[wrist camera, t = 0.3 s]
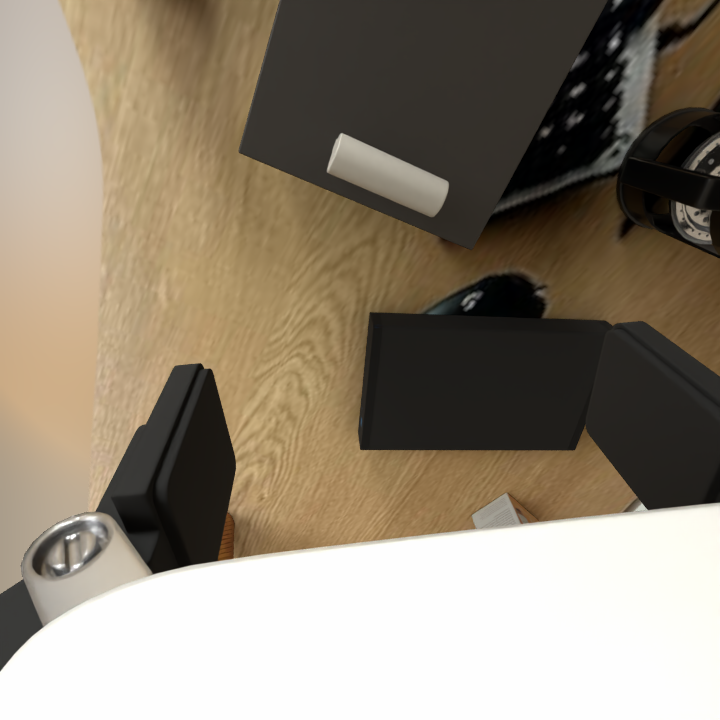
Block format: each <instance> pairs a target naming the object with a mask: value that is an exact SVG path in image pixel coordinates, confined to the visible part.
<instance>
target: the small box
mask: <svg viewBox="0 0 720 720" xmlns="http://www.w3.org/2000/svg"><path fill="white" fill-rule="evenodd" d="M472 518H473V521H474V524H475V527H476V529H481V528H490V527H499V526H507V525H516V524H525V523H534V522H540V521H539V520H538V519H536V518H535V517H534V516H533V515H531V514H530V513H529V512H528V511H527V510H526V509H525V508H524V507H523V506H521V505H520V504H519V503H518V502H517V501H516V500H515V499H514V498H513V497H511V496H510V495H509V494H508V493H505V494H503V495H502V496H500V497H499V498H497V499H496V500H494V501H493V502H491V503H490V504H488V505H486V506H485V507H483V508H482V509H480V510H479V511H477V512H475V513H474V514H473V515H472Z"/></svg>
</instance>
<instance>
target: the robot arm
mask: <svg viewBox="0 0 720 720" xmlns="http://www.w3.org/2000/svg"><path fill="white" fill-rule="evenodd" d="M585 424H586V429H587V432H588V434H589V435H590V437H591V438H592V439H593V440H594V442H595V443H596V444H597V446H598V447H599V448H600V449H601V451H602V452H603V453H604V455H605V456H606V457H607V458H608V460H609V461H610V462H611V464H612V465H613V466H614V467H615V469H616V470H617V471H618V473H619V474H620V475H621V476H622V478H623V479H624V480H625V482H626V483H627V484H628V485H629V487H630V488H631V489H632V491H633V492H634V493H635V494H636V496H637V497H638V498H639V500H640V501H641V502H642V503H643V505H644V506H645V507H646V508H647V509H648V510H644V511H635V512H626V513H616V514H607V515H598V516H588V517H579V518H570V519H561V520H552V521H543V522H534V523H525V524H516V525H507V526H499V527H490V528H481V529H472V530H463V531H455V532H446V533H437V534H428V535H420V536H412V537H403V538H395V539H386V540H378V541H369V542H361V543H352V544H344V545H335V546H327V547H319V548H310V549H302V550H294V551H286V552H278V553H270V554H262V555H255V556H248V557H242V558H235V559H229V560H222V561H218V556H219V551H220V546H221V541H222V536H223V531H224V526H225V521H226V516H227V511H228V506H229V501H230V496H231V491H232V486H233V481H234V476H235V471H236V461H235V455H234V451H233V447H232V443H231V439H230V436H229V432H228V428H227V424H226V420H225V417H224V413H223V409H222V405H221V401H220V398H219V394H218V390H217V386H216V382H215V378H214V375H213V372H212V370H211V369H204V367H203V365H202V364H201V363H199V364H188V365H178V366H175V367H174V368H173V370H172V372H171V374H170V376H169V378H168V380H167V382H166V384H165V387H164V389H163V391H162V393H161V395H160V397H159V399H158V401H157V403H156V405H155V407H154V409H153V411H152V413H151V415H150V417H149V419H148V421H147V423H146V425H142V426H140V427H139V428H138V429H137V431H136V432H135V434H134V436H133V438H132V440H131V442H130V444H129V446H128V448H127V450H126V452H125V454H124V456H123V458H122V460H121V462H120V464H119V466H118V468H117V470H116V472H115V474H114V476H113V478H112V480H111V482H110V484H109V486H108V488H107V490H106V492H105V494H104V496H103V498H102V500H101V502H100V504H99V506H98V508H97V510H96V512H86V513H82V514H78V515H74V516H71V517H69V518H67V519H64V520H63V521H60V522H58V523H56V524H55V525H53V526H52V527H50V528H49V529H47V530H46V531H44V532H43V533H42V534H41V535H40V536H39V537H38V538H37V539H36V540H35V541H34V542H33V543H32V544H31V546H30V547H29V549H28V550H27V551H26V553H25V554H24V557H23V561H22V563H21V572H22V577H23V580H21V581H20V582H18V583H17V584H15V585H14V586H12V587H11V588H9V589H7V590H6V591H4V592H3V593H1V594H0V720H720V376H718V375H717V374H715V373H714V372H713V371H711V370H710V369H709V368H707V367H706V366H704V365H703V364H702V363H700V362H699V361H698V360H696V359H695V358H693V357H692V356H691V355H689V354H688V353H687V352H685V351H684V350H682V349H681V348H680V347H678V346H677V345H676V344H674V343H673V342H671V341H670V340H669V339H667V338H666V337H665V336H663V335H662V334H661V333H659V332H658V331H656V330H655V329H654V328H652V327H651V326H650V325H648V324H647V323H645V322H643V321H638V322H627V323H617V324H616V325H614V326H613V328H612V330H609V331H607V333H606V334H605V337H604V342H603V346H602V350H601V355H600V359H599V363H598V368H597V372H596V376H595V381H594V385H593V389H592V394H591V398H590V402H589V407H588V411H587V415H586V421H585Z"/></svg>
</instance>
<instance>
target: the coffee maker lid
mask: <svg viewBox="0 0 720 720" xmlns="http://www.w3.org/2000/svg"><path fill="white" fill-rule="evenodd" d="M607 1H608V0H280V1H279V5H278V9H277V12H276V16H275V20H274V23H273V27H272V31H271V34H270V38H269V42H268V45H267V49H266V52H265V56H264V60H263V63H262V67H261V71H260V74H259V78H258V82H257V85H256V89H255V93H254V96H253V100H252V104H251V107H250V111H249V114H248V118H247V122H246V125H245V129H244V133H243V136H242V140H241V144H240V147H239V153H240V154H243V155H245V156H248V157H250V158H252V159H255V160H257V161H260V162H262V163H264V164H267V165H269V166H271V167H274V168H276V169H279V170H281V171H283V172H286V173H288V174H291V175H293V176H295V177H298V178H300V179H303V180H305V181H307V182H310V183H312V184H314V185H317V186H319V187H322V188H324V189H326V190H329V191H331V192H334V193H336V194H338V195H341V196H343V197H346V198H348V199H350V200H353V201H355V202H357V203H360V204H362V205H365V206H367V207H369V208H372V209H374V210H377V211H379V212H381V213H384V214H386V215H389V216H391V217H393V218H396V219H398V220H401V221H403V222H405V223H408V224H410V225H412V226H415V227H417V228H420V229H422V230H424V231H427V232H429V233H432V234H434V235H436V236H439V237H441V238H444V239H446V240H448V241H451V242H453V243H455V244H458V245H460V246H463V247H465V248H467V249H470V250H472V249H473V247H474V245H475V244H476V242H477V240H478V238H479V236H480V234H481V233H482V231H483V229H484V227H485V225H486V223H487V222H488V220H489V218H490V216H491V214H492V212H493V210H494V209H495V207H496V205H497V203H498V201H499V199H500V198H501V196H502V194H503V192H504V190H505V188H506V187H507V185H508V183H509V181H510V179H511V177H512V176H513V174H514V172H515V170H516V168H517V166H518V164H519V163H520V161H521V159H522V157H523V155H524V153H525V152H526V150H527V148H528V146H529V144H530V142H531V141H532V139H533V137H534V135H535V133H536V131H537V130H538V128H539V126H540V124H541V122H542V120H543V118H544V117H545V115H546V113H547V111H548V109H549V107H550V106H551V104H552V102H553V100H554V98H555V96H556V95H557V93H558V91H559V89H560V87H561V85H562V83H563V82H564V80H565V78H566V76H567V74H568V72H569V71H570V69H571V67H572V65H573V63H574V61H575V60H576V58H577V56H578V54H579V52H580V50H581V49H582V47H583V45H584V43H585V41H586V39H587V37H588V36H589V34H590V32H591V30H592V28H593V26H594V25H595V23H596V21H597V19H598V17H599V15H600V14H601V12H602V10H603V8H604V6H605V4H606V3H607Z"/></svg>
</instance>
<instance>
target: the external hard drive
mask: <svg viewBox="0 0 720 720" xmlns="http://www.w3.org/2000/svg"><path fill="white" fill-rule="evenodd" d="M612 328H613V326H612V325H610V324H609V323H608V322H607V321H599V320H571V319H542V318H514V317H486V316H458V315H429V314H401V313H373V312H370V315H369V326H368V336H367V346H366V357H365V367H364V377H363V387H362V398H361V408H360V418H359V429H358V435H359V443H360V450H575V449H576V446H577V444H578V441H579V439H580V436H581V434H582V431H583V429H584V426H585V421H586V415H587V411H588V407H589V402H590V398H591V394H592V389H593V385H594V381H595V376H596V372H597V368H598V363H599V359H600V355H601V350H602V346H603V342H604V337H605V334H606V333H607V331H609V330H612Z"/></svg>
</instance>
